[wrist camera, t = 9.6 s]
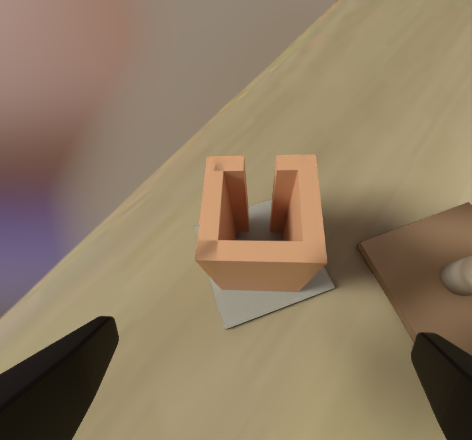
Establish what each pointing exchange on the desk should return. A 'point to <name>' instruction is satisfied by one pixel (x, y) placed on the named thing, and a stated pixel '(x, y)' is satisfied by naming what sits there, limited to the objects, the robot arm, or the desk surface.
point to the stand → (428, 273)
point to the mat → (262, 302)
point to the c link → (281, 220)
